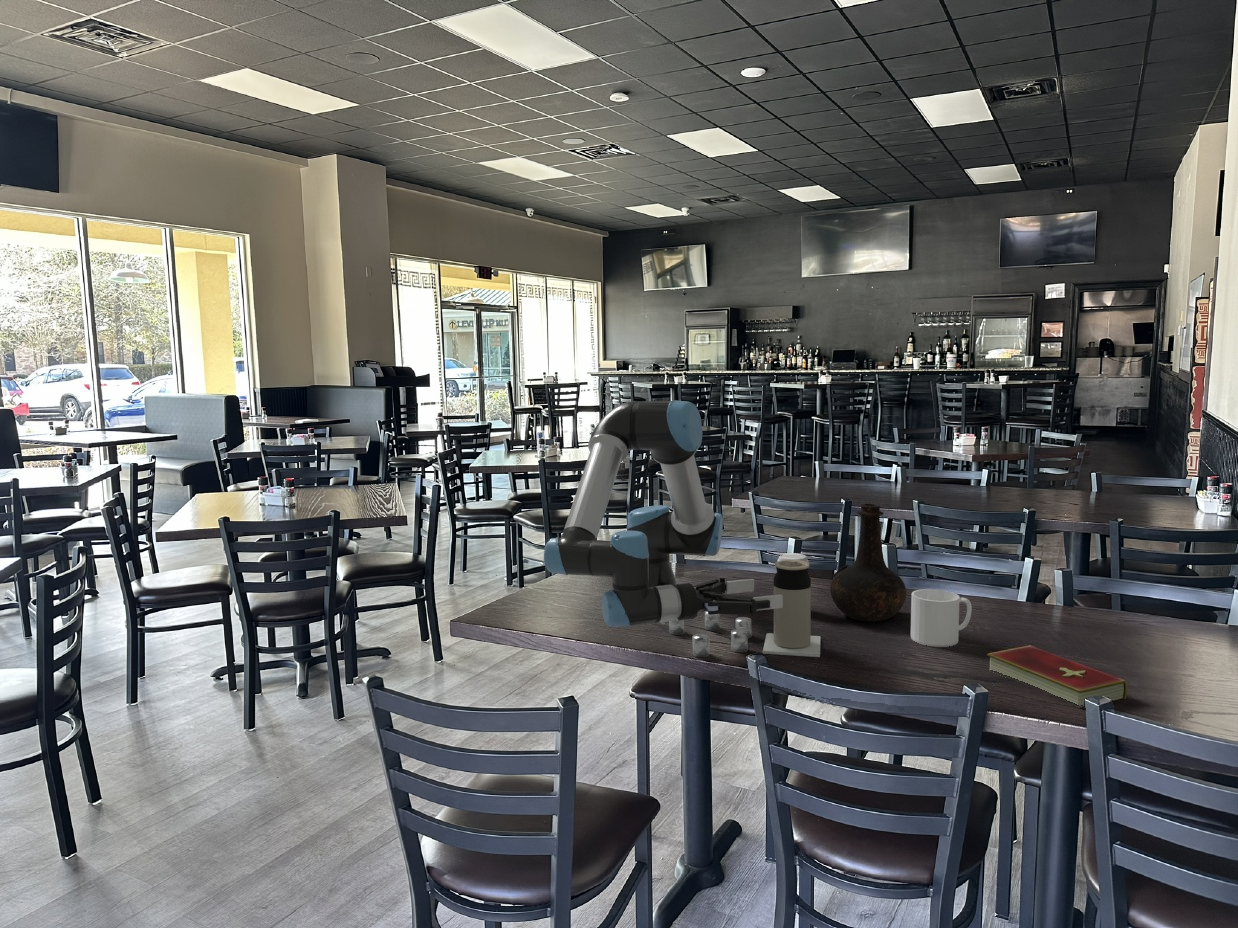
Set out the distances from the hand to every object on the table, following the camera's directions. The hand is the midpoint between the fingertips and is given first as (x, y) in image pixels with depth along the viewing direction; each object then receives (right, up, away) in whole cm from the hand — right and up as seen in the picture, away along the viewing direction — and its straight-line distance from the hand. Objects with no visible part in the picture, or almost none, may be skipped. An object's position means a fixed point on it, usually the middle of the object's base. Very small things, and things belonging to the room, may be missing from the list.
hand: (767, 592), depth 179 cm
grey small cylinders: (-12, -12, +8) cm, 19 cm away
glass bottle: (+29, -10, +23) cm, 38 cm away
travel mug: (+6, -12, +3) cm, 14 cm away
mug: (+40, -12, +5) cm, 42 cm away
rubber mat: (+6, -12, +3) cm, 14 cm away
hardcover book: (+51, -15, -21) cm, 57 cm away
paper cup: (+12, -9, +29) cm, 33 cm away
